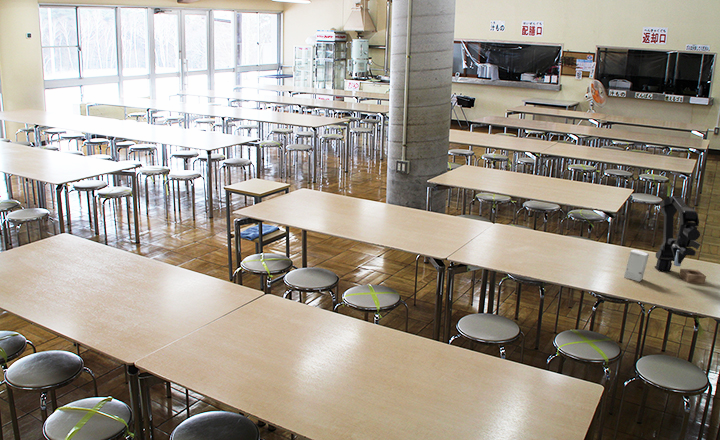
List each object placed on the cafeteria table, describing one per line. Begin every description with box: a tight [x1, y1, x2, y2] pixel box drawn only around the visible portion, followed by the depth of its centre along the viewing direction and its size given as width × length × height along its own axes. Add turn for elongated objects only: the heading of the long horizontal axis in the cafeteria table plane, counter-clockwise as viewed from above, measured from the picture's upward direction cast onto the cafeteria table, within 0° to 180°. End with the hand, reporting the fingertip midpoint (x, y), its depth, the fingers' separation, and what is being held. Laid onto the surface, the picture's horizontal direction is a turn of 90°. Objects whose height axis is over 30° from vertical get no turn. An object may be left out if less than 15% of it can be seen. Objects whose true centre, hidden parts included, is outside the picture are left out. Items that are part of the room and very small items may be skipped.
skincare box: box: [623, 249, 650, 282], centre depth 308 cm, size 8×6×15 cm
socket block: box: [678, 268, 707, 284], centre depth 313 cm, size 9×9×4 cm
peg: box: [673, 250, 682, 267], centre depth 306 cm, size 3×3×8 cm
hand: (677, 262), depth 307 cm, fingers closed on peg, 3 cm apart
